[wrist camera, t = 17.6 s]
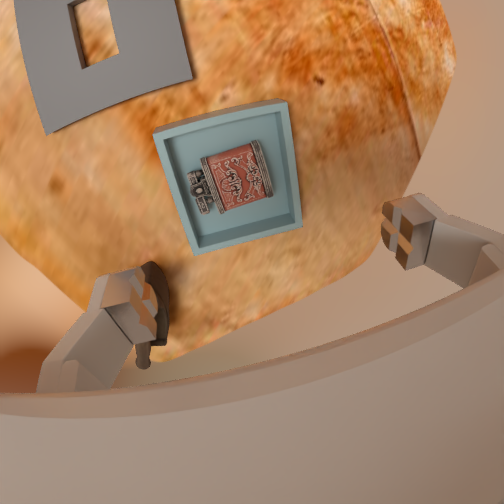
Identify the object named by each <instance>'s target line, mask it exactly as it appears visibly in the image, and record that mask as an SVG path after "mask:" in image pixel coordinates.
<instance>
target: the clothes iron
mask: <svg viewBox="0 0 504 504" xmlns="http://www.w3.org/2000/svg"><path fill="white" fill-rule="evenodd" d="M140 268H141V269H142V271H143V272H144V274H145V281H144V282H146V283H148V284H150V285H151V286H152V288H153V290H154V292H155V295H156V299H157V304H158V311H157V314H156V315H155V317H154V319H155V321H156V323H157V331H156V340H152V341H147V342H143V343H138V344H135V349H136V354H137V358H136V365H137V367H139V368H140V369H147V368H149V367H150V364H151V362H150V359H149V355H150V351H151V346H163V345H164V346H165V345H166V343H167V335H168V330H169V289H168V284H167V281H166V278H165V276H164V274H163V273H162V271H161V270H160V268H159V267H158V266H157V265H156V264H155V263H153V262H148V263H146V264H144V265H143V266H141V267H140Z"/></svg>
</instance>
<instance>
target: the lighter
mask: <svg viewBox="0 0 504 504" xmlns="http://www.w3.org/2000/svg"><path fill="white" fill-rule="evenodd" d="M200 163H201V166H202V170H196V171H191V172H189V173H187V177H188V180H189V182H190V185H191V186H190V194H191V195H192V196H193V197H196V199H195V201H196V204H197V206H198V209H199V211H200V213H201V214H203V215H205V214H208V213H210V210H209V207H208V204H207V203H209V204H210V203H212V202H215V204H216V207H217V209H218V212H219V214H223V213H225V211H228V210H230V209H233V208H236V207H239V206H242V205H245V204H248V203H251V202H254V201H257V200H260V199H263V198H266V197H267V198H270V197H273V196H274V194H273V190H272V186H271V182H270V178H269V174H268V171H267V167H266V164H265V160H264V157H263V154H262V151H261V148H260V145H259V143H258V141H257V140H254V141H251V142H250V143H249V144H246V145H242V146H239V147H236V148H233V149H230V150H227V151H224V152H221V153H218V154H216V155H213V156H210V157H207V158H206V157H203V158H200ZM203 174H204V175H203ZM201 175H203V176H202V177H201V179H197V178H198V177H200V176H201ZM205 195H207V196H210V197H208V198H207V199H205V197H204V196H205ZM211 195H212V196H211Z"/></svg>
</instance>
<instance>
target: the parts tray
mask: <svg viewBox="0 0 504 504" xmlns="http://www.w3.org/2000/svg"><path fill="white" fill-rule="evenodd" d="M152 135H153V138H154V141H155V144H156V148H157V151H158V154H159V157H160V160H161V163H162V166H163V169H164V172H165V175H166V178H167V181H168V184H169V187H170V190H171V193H172V196H173V199H174V202H175V205H176V208H177V210H178V213H179V216H180V219H181V222H182V224H183V227H184V230H185V233H186V235H187V238H188V241H189V244H190V246H191V249H192V252H193V254H194V256H196V255H200V254H203V253H207V252H211V251H215V250H218V249H222V248H226V247H229V246H233V245H237V244H241V243H244V242H248V241H252V240H256V239H259V238H263V237H267V236H271V235H274V234H278V233H282V232H286V231H290V230H293V229H297V228H301V227H303V223H302V213H301V204H300V195H299V186H298V177H297V169H296V161H295V153H294V146H293V138H292V131H291V124H290V117H289V111H288V104H287V102H286V101H283V100H281V99H278V98H276V99H271V100H265V101H259V102H254V103H249V104H244V105H240V106H235V107H230V108H226V109H222V110H218V111H213V112H209V113H205V114H202V115H198V116H194V117H190V118H187V119H183V120H180V121H176V122H173V123H170V124H167V125H163V126H160V127H157V128H156V129H155V131H154V133H153V134H152ZM254 140H257V141H258V143H259V145H260V148H261V151H262V154H263V157H264V160H265V164H266V167H267V171H268V174H269V178H270V182H271V186H272V190H273V194H274V196H273V197H270V198H267V197H266V198H263V199H260V200H257V201H254V202H251V203H248V204H245V205H242V206H239V207H236V208H233V209H230V210H228V211H225V213H223V214H219V212H218V209H217V207H216V204H215V202H212V203H210V204H209V203H207V204H208V207H209V210H210V213H208V214H205V215H203V214H201V213H200V211H199V209H198V206H197V204H196V201H195V199H196V197H193V196H192V195H191V194H190V186H191V185H190V182H189V180H188V177H187V173H189V172H191V171H196V170H202V166H201V163H200V158H203V157H206V158H207V157H210V156H213V155H216V154H218V153H221V152H224V151H227V150H230V149H233V148H236V147H239V146H242V145H246V144H249V143H250V142H251V141H254ZM203 175H204V174H203ZM203 175H201V176H200V177H198V178H197V179H201V177H202V176H203ZM211 196H212V195H211ZM204 197H205V199H207V198H208V197H210V196H207V195H205V196H204Z"/></svg>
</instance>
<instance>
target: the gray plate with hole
mask: <svg viewBox="0 0 504 504" xmlns="http://www.w3.org/2000/svg"><path fill="white" fill-rule="evenodd" d="M83 1H85V0H14V7H15V14H16V21H17V28H18V33H19V39H20V44H21V49H22V54H23V58H24V63H25V67H26V71H27V75H28V79H29V82H30V86H31V90H32V93H33V97H34V100H35V103H36V107H37V110H38V113H39V116H40V119H41V122H42V125H43V128H44V131H45V133H46V136H47V135H49V134H51V133H52V132H54V131H56V130H58V129H60V128H62V127H64V126H66V125H68V124H70V123H72V122H75V121H77V120H79V119H81V118H83V117H85V116H88V115H90V114H92V113H94V112H97V111H99V110H102V109H104V108H106V107H109V106H111V105H114V104H116V103H119V102H122V101H124V100H127V99H130V98H132V97H135V96H138V95H141V94H144V93H147V92H150V91H153V90H156V89H159V88H162V87H165V86H169V85H172V84H176V83H179V82H183V81H186V80H190V79H193V78H192V73H191V69H190V65H189V61H188V57H187V53H186V48H185V44H184V40H183V36H182V31H181V27H180V23H179V19H178V14H177V10H176V5H175V1H174V0H107V1H108V6H109V11H110V15H111V20H112V24H113V29H114V33H115V37H116V41H117V45H118V49H119V53H120V54H117V55H115V56H112V57H110V58H107V59H105V60H103V61H100V62H98V63H96V64H93V65H91V66H89V67H86V64H85V60H84V56H83V52H82V48H81V44H80V39H79V35H78V31H77V26H76V21H75V16H74V11H73V6H75V5H77V4H79V3H81V2H83Z"/></svg>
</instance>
